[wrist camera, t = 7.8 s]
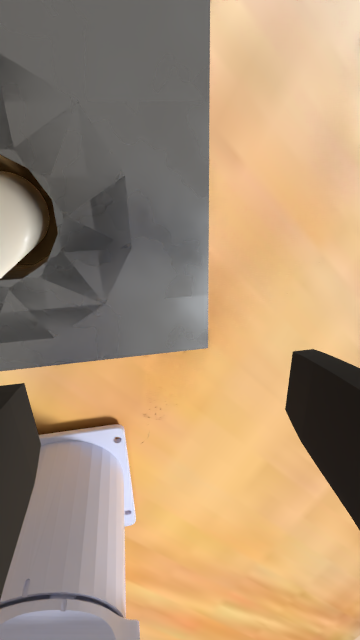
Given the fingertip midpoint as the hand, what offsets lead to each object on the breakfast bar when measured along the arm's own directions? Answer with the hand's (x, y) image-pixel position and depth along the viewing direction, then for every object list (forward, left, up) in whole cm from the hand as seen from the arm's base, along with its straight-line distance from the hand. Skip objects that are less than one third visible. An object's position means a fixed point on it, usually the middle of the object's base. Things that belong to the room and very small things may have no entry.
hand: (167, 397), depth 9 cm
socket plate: (+4, +6, -10) cm, 12 cm away
